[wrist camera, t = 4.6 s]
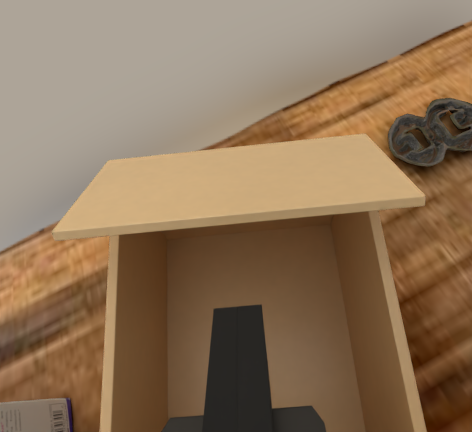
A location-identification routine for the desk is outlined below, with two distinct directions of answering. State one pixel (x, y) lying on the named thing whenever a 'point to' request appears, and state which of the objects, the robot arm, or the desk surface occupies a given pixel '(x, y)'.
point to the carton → (274, 317)
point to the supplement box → (36, 416)
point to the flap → (239, 187)
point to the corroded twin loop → (432, 133)
